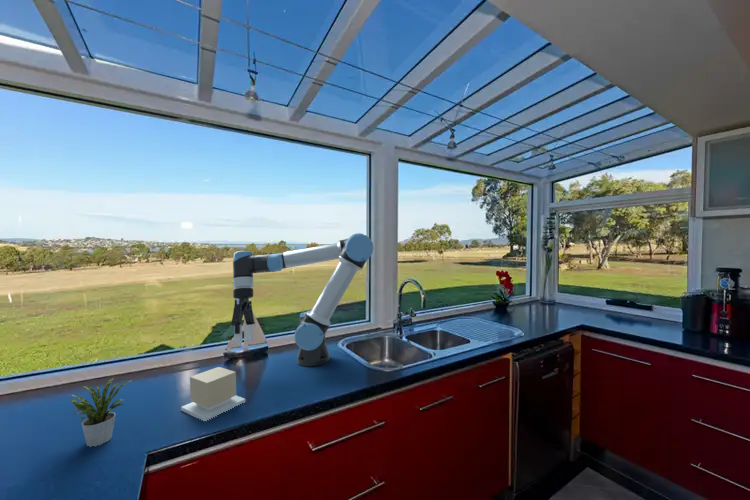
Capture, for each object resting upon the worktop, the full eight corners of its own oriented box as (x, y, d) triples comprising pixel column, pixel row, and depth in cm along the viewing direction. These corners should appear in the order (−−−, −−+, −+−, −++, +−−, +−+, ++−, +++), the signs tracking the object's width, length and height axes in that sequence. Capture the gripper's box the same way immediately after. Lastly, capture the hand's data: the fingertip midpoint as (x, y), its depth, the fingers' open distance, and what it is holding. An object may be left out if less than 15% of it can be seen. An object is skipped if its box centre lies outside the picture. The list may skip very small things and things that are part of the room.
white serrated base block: (221, 393, 114) (220, 365, 114) (245, 402, 106) (244, 372, 106) (181, 410, 102) (180, 379, 102) (205, 422, 94) (204, 388, 94)
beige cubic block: (219, 388, 111) (218, 366, 111) (236, 395, 106) (235, 371, 106) (190, 400, 102) (190, 376, 102) (207, 408, 97) (207, 383, 97)
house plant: (129, 418, 97) (128, 367, 97) (142, 434, 88) (141, 378, 88) (66, 441, 86) (64, 382, 86) (73, 462, 77) (72, 397, 77)
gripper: (243, 292, 138) (244, 340, 134) (222, 286, 114) (221, 345, 110) (260, 290, 139) (262, 338, 135) (243, 284, 115) (243, 342, 111)
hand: (244, 341), depth 122 cm, fingers open, 13 cm apart
